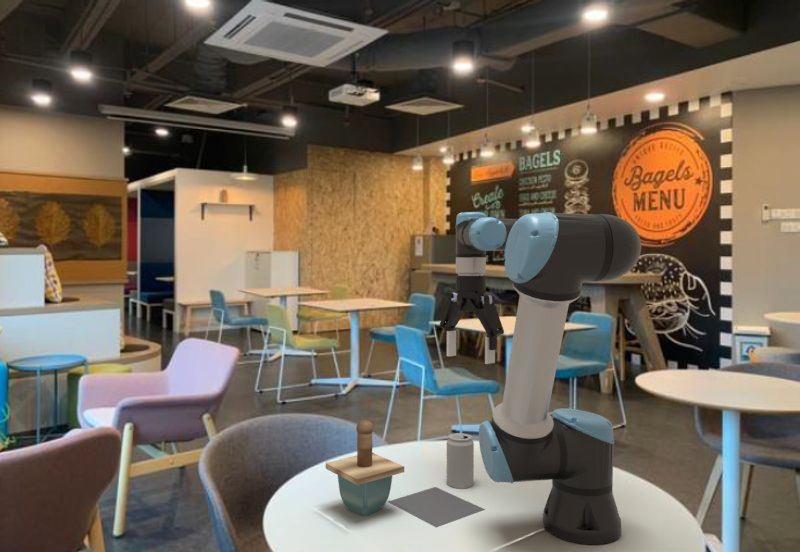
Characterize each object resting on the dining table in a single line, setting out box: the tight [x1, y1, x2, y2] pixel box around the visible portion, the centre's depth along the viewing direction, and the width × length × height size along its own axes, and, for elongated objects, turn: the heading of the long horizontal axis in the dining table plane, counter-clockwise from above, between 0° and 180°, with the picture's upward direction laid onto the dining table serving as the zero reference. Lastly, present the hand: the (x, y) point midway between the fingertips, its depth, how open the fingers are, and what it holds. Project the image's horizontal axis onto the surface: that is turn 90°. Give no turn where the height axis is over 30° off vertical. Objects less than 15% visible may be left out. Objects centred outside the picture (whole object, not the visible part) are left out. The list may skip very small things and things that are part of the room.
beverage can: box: [446, 432, 475, 490], centre depth 144 cm, size 6×6×12 cm
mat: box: [387, 486, 486, 528], centre depth 132 cm, size 16×14×1 cm
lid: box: [325, 419, 405, 485], centre depth 129 cm, size 12×12×11 cm
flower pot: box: [337, 475, 394, 517], centre depth 130 cm, size 9×9×9 cm
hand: (470, 359), depth 152 cm, fingers open, 13 cm apart
